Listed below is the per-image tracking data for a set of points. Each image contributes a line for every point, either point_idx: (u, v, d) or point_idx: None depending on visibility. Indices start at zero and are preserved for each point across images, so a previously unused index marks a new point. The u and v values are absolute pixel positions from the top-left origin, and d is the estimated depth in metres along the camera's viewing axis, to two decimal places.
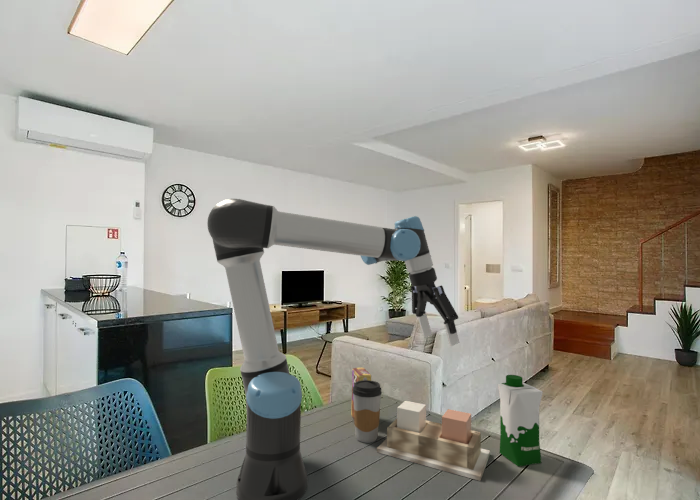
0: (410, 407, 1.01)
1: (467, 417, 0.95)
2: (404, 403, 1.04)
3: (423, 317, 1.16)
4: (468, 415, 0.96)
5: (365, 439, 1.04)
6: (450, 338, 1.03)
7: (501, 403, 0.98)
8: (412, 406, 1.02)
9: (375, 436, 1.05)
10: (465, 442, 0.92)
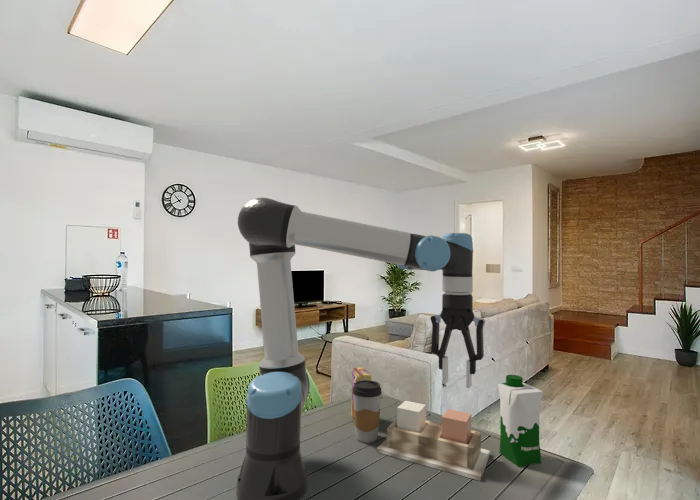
0: (410, 407, 1.01)
1: (467, 417, 0.95)
2: (404, 403, 1.04)
3: (446, 359, 0.98)
4: (468, 415, 0.96)
5: (365, 439, 1.04)
6: (469, 379, 0.94)
7: (501, 403, 0.98)
8: (412, 406, 1.02)
9: (375, 436, 1.05)
10: (465, 442, 0.92)
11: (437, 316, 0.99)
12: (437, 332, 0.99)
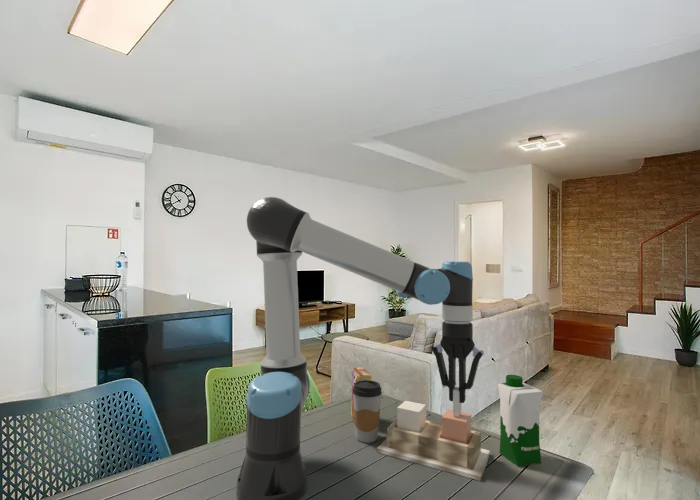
0: (410, 407, 1.01)
1: (467, 417, 0.95)
2: (404, 403, 1.04)
3: None
4: (468, 415, 0.96)
5: (365, 439, 1.04)
6: (459, 408, 0.95)
7: (501, 403, 0.98)
8: (412, 406, 1.02)
9: (375, 436, 1.05)
10: (465, 442, 0.92)
11: (438, 346, 0.99)
12: (442, 362, 0.98)
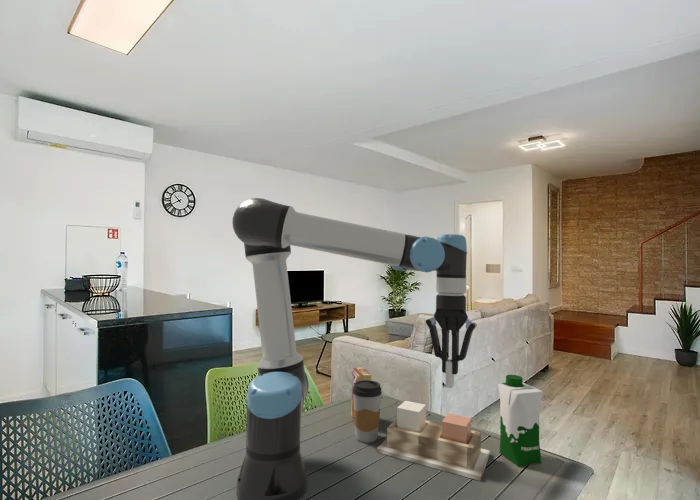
0: (410, 407, 1.01)
1: (467, 421, 0.95)
2: (404, 403, 1.04)
3: None
4: (468, 419, 0.96)
5: (365, 439, 1.04)
6: (451, 379, 0.96)
7: (501, 403, 0.98)
8: (412, 406, 1.02)
9: (375, 436, 1.05)
10: None
11: (432, 318, 1.00)
12: (435, 334, 0.99)
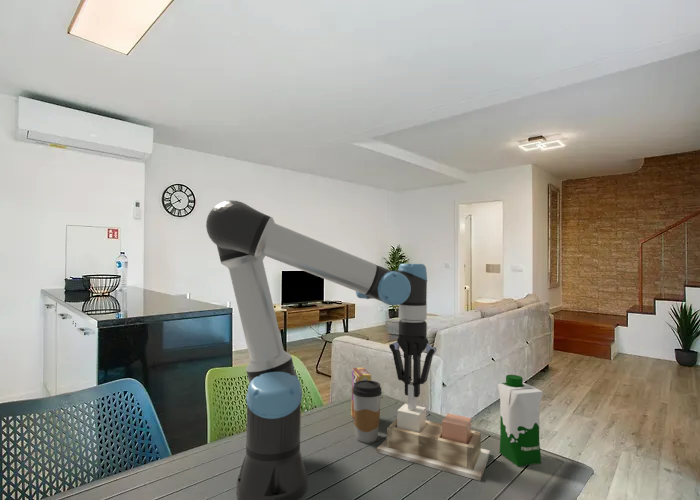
0: (410, 410, 1.01)
1: (467, 421, 0.95)
2: (404, 406, 1.04)
3: None
4: (468, 419, 0.96)
5: (365, 439, 1.04)
6: (413, 401, 1.01)
7: (501, 403, 0.98)
8: None
9: (375, 436, 1.05)
10: None
11: (395, 343, 1.05)
12: (399, 358, 1.04)
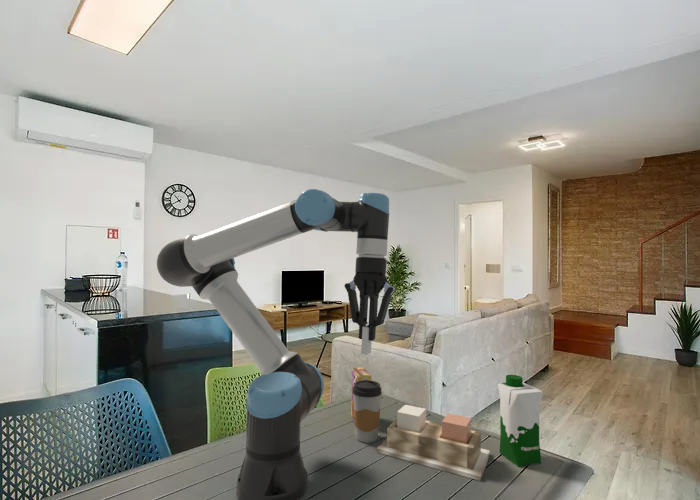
0: (410, 412, 1.01)
1: (467, 421, 0.95)
2: (404, 407, 1.04)
3: None
4: (468, 419, 0.96)
5: (365, 439, 1.04)
6: (367, 345, 0.91)
7: (501, 403, 0.98)
8: (412, 411, 1.02)
9: (375, 436, 1.05)
10: None
11: (351, 282, 0.95)
12: (354, 299, 0.94)
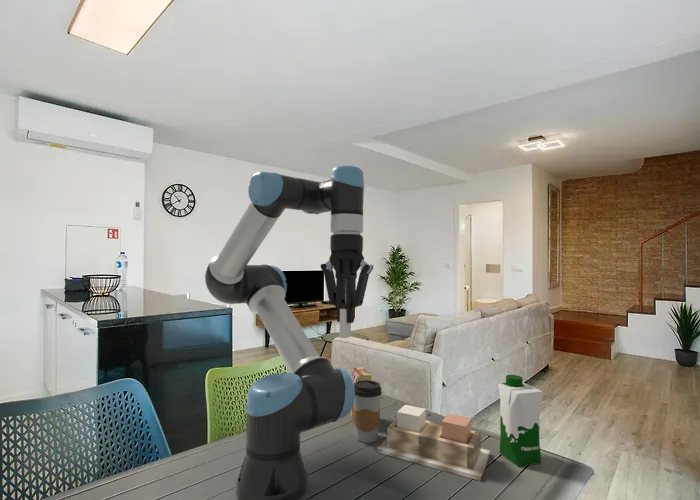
0: (410, 412, 1.01)
1: (467, 421, 0.95)
2: (404, 407, 1.04)
3: None
4: (468, 419, 0.96)
5: (365, 439, 1.04)
6: (345, 328, 0.86)
7: (501, 403, 0.98)
8: (412, 411, 1.02)
9: (375, 436, 1.05)
10: None
11: (327, 263, 0.89)
12: (331, 280, 0.89)
